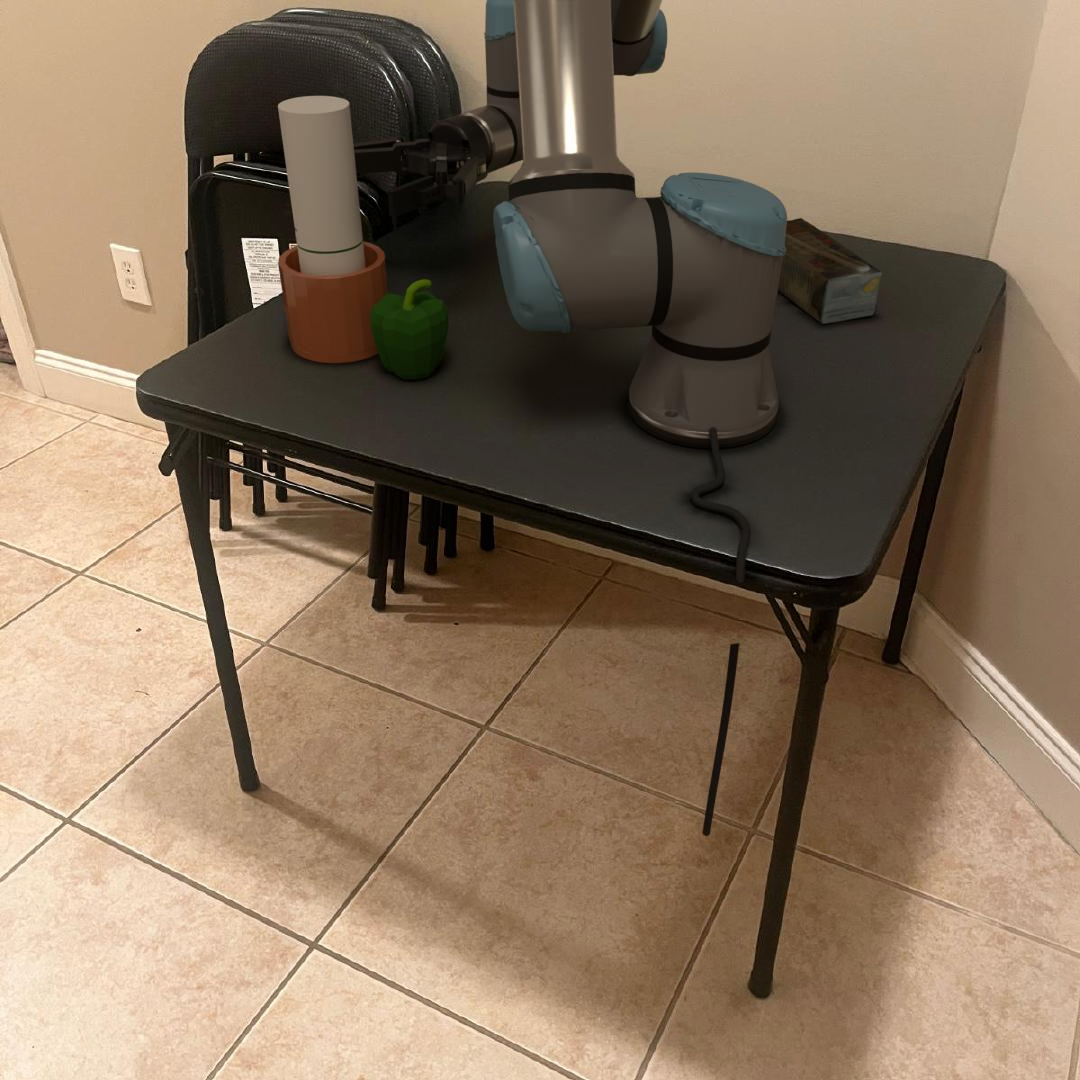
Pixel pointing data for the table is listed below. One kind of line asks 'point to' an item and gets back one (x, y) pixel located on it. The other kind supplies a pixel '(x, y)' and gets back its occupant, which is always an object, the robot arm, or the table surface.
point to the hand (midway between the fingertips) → (344, 191)
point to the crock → (332, 308)
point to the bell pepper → (410, 331)
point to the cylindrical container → (322, 184)
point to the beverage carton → (826, 276)
